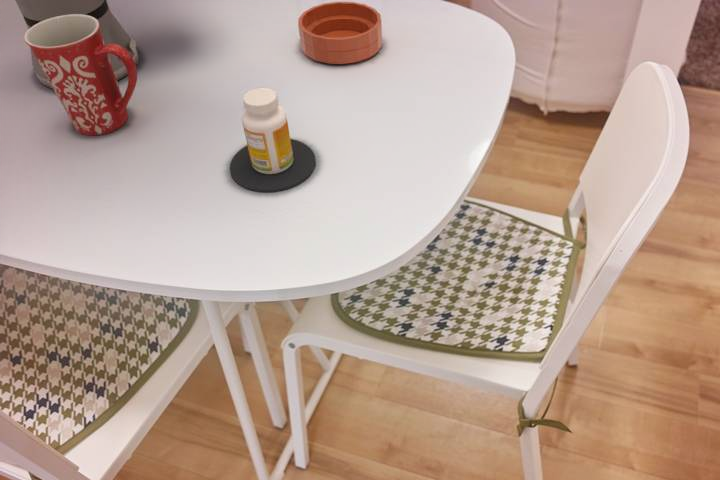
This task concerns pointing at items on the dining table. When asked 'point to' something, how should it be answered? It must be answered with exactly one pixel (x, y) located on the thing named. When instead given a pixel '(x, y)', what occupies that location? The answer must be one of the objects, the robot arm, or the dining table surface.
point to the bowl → (340, 32)
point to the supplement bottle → (266, 132)
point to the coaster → (273, 182)
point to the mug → (83, 71)
